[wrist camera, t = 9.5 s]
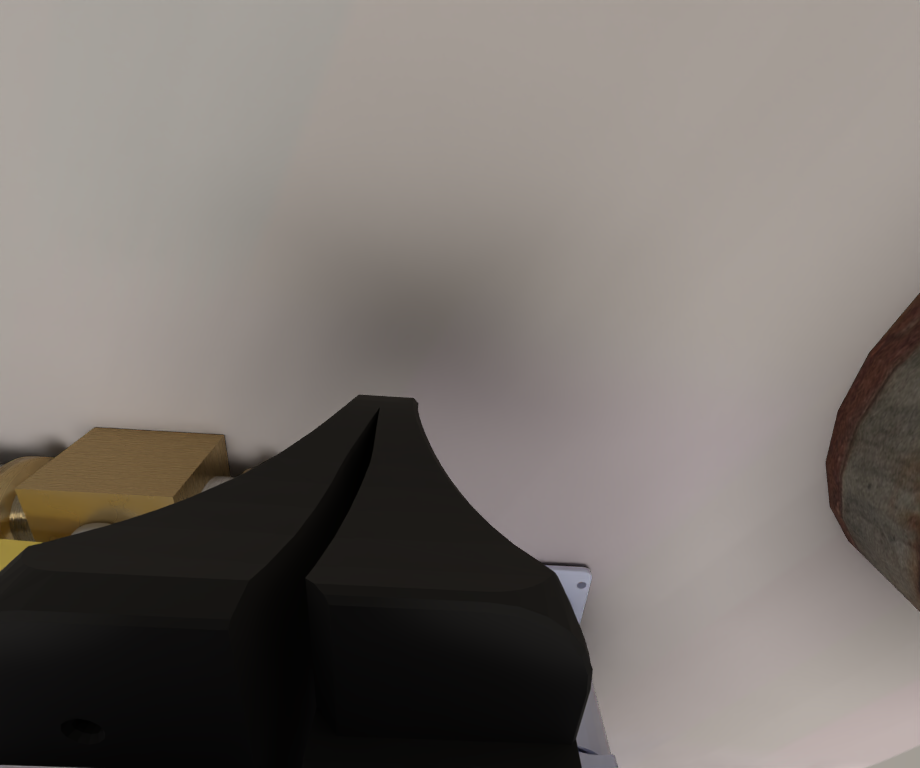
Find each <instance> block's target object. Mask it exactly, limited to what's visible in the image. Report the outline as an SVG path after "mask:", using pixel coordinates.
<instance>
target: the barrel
mask: <svg viewBox="0 0 920 768" xmlns="http://www.w3.org/2000/svg"><path fill="white" fill-rule="evenodd" d="M826 471H827V482H828V492H829V503H830V508H831V509H832V511H833V513H834V515H835V517H836V519H837V521H838V522H839V524H840V526H841V528H842V530H843V532H844V534H845V536H846V537H847V539H848V541H849V542H850V543H851V544H852V545H853V546H854V547H855V548H856V549H857V550H858V551H859V552H860V553H861V554H862V555H863V556H864V557H865V558H866V559H867V560H868V561H869V562H870V563H871V564H872V565H873V566H874V567H875V568H876V569H877V570H878V571H879V572H880V573H881V574H882V575H883V576H884V577H885V578H886V579H887V580H888V581H889V582H890V583H891V584H892V585H893V586H894V587H895V588H896V589H897V590H898V591H899V592H901V593H902V594H903V595H904V596H905V597H906V598H907V599H908V600H909V601H910V602H911V603H912V604H913V605H914V606H915V607H916V608H917V609H918V610H919V611H920V293H919V295H918V296H917V297H916V298H915V299H914V301H913V302H912V303H911V304H910V305H909V306H908V308H907V309H906V310H905V311H904V312H903V314H902V315H901V316H900V317H899V318H898V320H897V321H896V322H895V323H894V324H893V325H892V327H891V328H890V329H889V330H888V331H887V333H886V334H885V335H884V336H883V337H882V339H881V340H880V341H879V342H878V343H877V344H876V346H875V347H874V348H873V349H872V350H871V352H870V353H869V354H868V356H867V358H866V360H865V362H864V364H863V366H862V367H861V369H860V371H859V373H858V375H857V377H856V379H855V380H854V382H853V384H852V386H851V388H850V390H849V392H848V393H847V395H846V397H845V399H844V401H843V403H842V405H841V406H840V408H839V410H838V413H837V418H836V422H835V426H834V430H833V434H832V438H831V442H830V447H829V451H828V455H827V459H826Z"/></svg>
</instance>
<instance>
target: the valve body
mask: <svg viewBox="0 0 920 768" xmlns="http://www.w3.org/2000/svg"><path fill="white" fill-rule="evenodd" d="M251 469H253V468H249V469H247V470H245V471H244V472H243V473H245V472H247V471H249V470H251ZM243 473H242V474H243ZM233 478H235V477H231V476H230V470H229V464H228V457H227V451H226V445H225V439H224V435H215V434H198V433H180V432H163V431H146V430H129V429H111V428H93V429H92V430H91V431H89V432H88V433H87V434H85V435H84V436H83V437H81V438H80V439H79V440H78V441H76V442H75V443H74V444H72V445H71V446H70V447H68V448H67V449H66V450H64V451H63V452H62V453H60V454H59V455H58V456H56V457H38V456H25V457H20V458H17V459H14V460H12V461H10V462H8V463H6V464H0V539H8V540H20V541H31V542H43V543H44V542H48V541H51V540H55V539H59V538H63V537H66V536H70V535H71V534H72V533H73V532H74V531H75V530H76V529H77V528H79V527H81V526H83V525H86V524H90V523H108V524H114V523H117V522H121V521H124V520H127V519H130V518H133V517H136V516H139V515H142V514H145V513H148V512H151V511H154V510H157V509H160V508H163V507H166V506H168V505H171V504H174V503H176V502H179V501H182V500H184V499H187V498H190V497H192V496H194V495H197V494H199V493H201V492H203V491H206V490H208V489H210V488H213V487H215V486H217V485H219V484H222V483H224V482H226V481H229V480H231V479H233Z"/></svg>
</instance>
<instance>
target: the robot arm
mask: <svg viewBox="0 0 920 768" xmlns="http://www.w3.org/2000/svg"><path fill="white" fill-rule="evenodd" d="M591 580H592V575H591V571H590V570H589V569H588V568H586V567H574V566H554V565H544V564H542V563H541V562H539V561H538V560H536V559H535V558H533V557H532V556H530V555H529V554H527V553H526V552H524V551H523V550H521V549H520V548H518V547H517V546H516V545H514V544H513V543H512V542H510V541H509V540H508V539H507V538H505V537H504V536H503V535H502V534H501V533H499V532H498V531H497V530H496V529H495V528H493V527H492V526H491V525H490V524H489V523H488V522H487V521H486V520H485V519H484V518H483V517H482V516H481V515H480V514H479V513H478V512H477V511H476V510H475V509H474V508H473V507H472V506H471V505H470V504H469V502H468V501H467V500H466V499H465V498H464V496H463V495H462V494H461V493H460V492H459V490H458V489H457V488H456V486H455V485H454V484H453V482H452V481H451V479H450V478H449V477H448V475H447V474H446V472H445V470H444V469H443V467H442V466H441V464H440V462H439V460H438V459H437V457H436V455H435V453H434V451H433V449H432V447H431V445H430V443H429V441H428V439H427V436H426V434H425V432H424V429H423V427H422V424H421V420H420V417H419V413H418V402H417V401H416V400H415V399H414V398H403V397H387V396H370V395H358V396H357V397H355V398H354V399H353V400H352V401H350V402H349V403H348V404H347V405H346V406H344V407H343V408H342V409H341V410H339V411H338V412H337V413H336V414H334V415H333V416H332V417H331V418H329V419H328V420H327V421H325V422H324V423H323V424H321V425H320V426H319V427H318V428H316V429H315V430H314V431H312V432H311V433H309V434H308V435H306V436H305V437H303V438H302V439H300V440H299V441H297V442H296V443H294V444H293V445H291V446H290V447H288V448H287V449H286V450H284V451H283V452H281V453H279V454H278V455H276V456H274V457H273V458H271V459H269V460H267V461H266V462H264V463H262V464H260V465H258V466H257V467H255V468H253V469H251V470H249V471H247V472H245V473H243V474H241V475H239V476H237V477H235V478H233V479H231V480H229V481H226V482H224V483H222V484H219V485H217V486H215V487H213V488H210V489H208V490H206V491H203V492H201V493H199V494H197V495H194V496H192V497H190V498H187V499H184V500H182V501H179V502H176V503H174V504H171V505H168V506H166V507H163V508H160V509H157V510H154V511H151V512H148V513H145V514H142V515H139V516H136V517H133V518H130V519H127V520H124V521H121V522H117V523H114V524H111V525H107V526H104V527H100V528H96V529H92V530H89V531H85V532H81V533H78V534H74V535H70V536H66V537H63V538H59V539H55V540H51V541H48V542H44V543H39V544H35V545H31V546H28V547H26V548H25V549H24V550H23V551H22V552H21V553H20V554H19V555H17V556H16V557H15V558H14V559H13V560H12V561H11V562H10V563H9V564H8V565H7V566H6V567H4V568H3V569H2V570H1V571H0V768H618V765H617V762H616V758H615V755H613V754H611V752H610V748H609V744H608V740H607V736H606V732H605V728H604V725H603V721H602V717H601V713H600V709H599V705H598V701H597V697H596V693H595V689H594V686H593V682H592V670H593V669H592V666H591V663H590V657H589V652H588V649H587V645H586V642H585V639H584V636H583V633H582V630H581V628H580V623H581V619H582V615H583V611H584V607H585V603H586V599H587V596H588V592H589V588H590V584H591ZM579 582H582V583H579Z"/></svg>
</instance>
